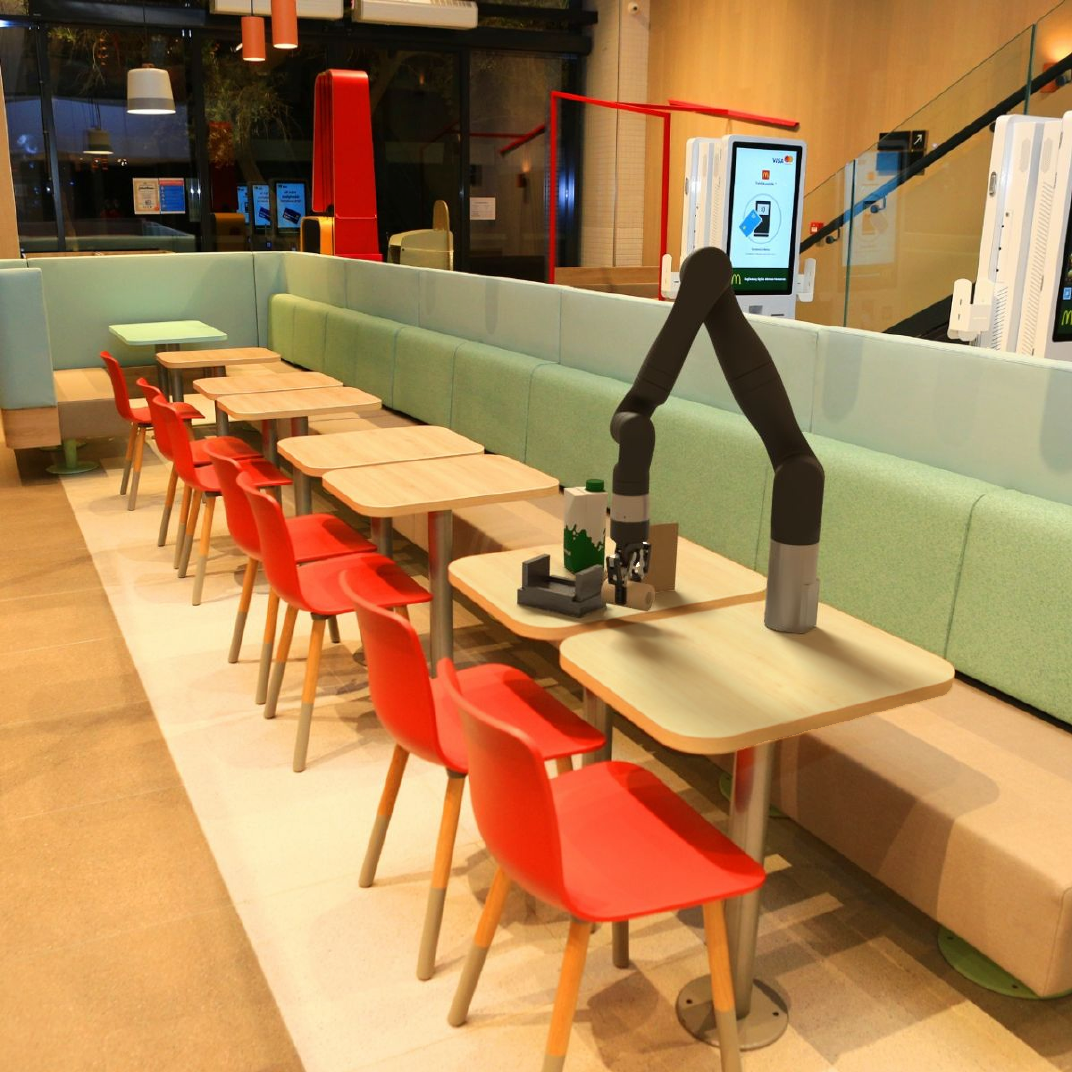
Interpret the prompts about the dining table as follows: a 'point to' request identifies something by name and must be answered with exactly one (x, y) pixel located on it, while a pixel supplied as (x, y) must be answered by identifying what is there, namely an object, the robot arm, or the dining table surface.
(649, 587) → the paper roll
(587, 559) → the milk carton
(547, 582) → the roll holder
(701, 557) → the dining table surface
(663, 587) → the sandwich container
